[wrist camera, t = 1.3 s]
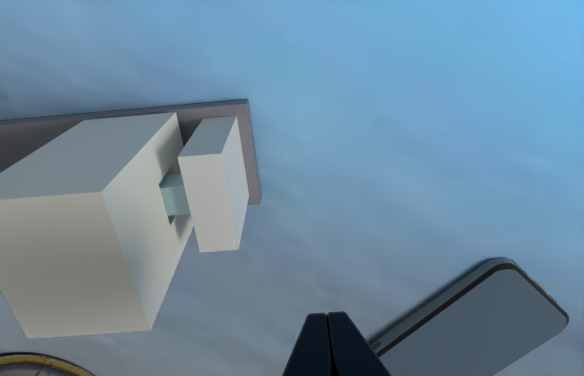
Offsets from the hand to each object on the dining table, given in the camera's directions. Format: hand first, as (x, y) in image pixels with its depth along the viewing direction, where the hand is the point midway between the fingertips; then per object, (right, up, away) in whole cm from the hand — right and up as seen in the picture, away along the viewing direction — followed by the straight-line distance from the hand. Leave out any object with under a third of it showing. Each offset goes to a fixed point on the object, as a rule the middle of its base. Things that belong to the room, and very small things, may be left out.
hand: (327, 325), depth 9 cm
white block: (-8, +4, +9) cm, 12 cm away
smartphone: (+9, -7, +17) cm, 20 cm away
